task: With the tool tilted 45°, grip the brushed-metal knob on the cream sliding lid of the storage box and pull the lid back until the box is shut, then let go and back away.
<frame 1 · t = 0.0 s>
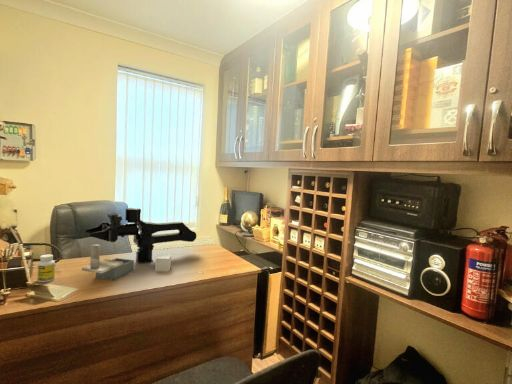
hand: (87, 232, 122), 17 cm above the table, tool horizontal, fingers open, 9 cm apart
lid: (103, 255, 112), point 10 cm above the table, slide at 7.0 cm
storage box: (115, 274, 119), on the table
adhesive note: (163, 269, 129), on the table
supplement bottle: (46, 280, 109), on the table
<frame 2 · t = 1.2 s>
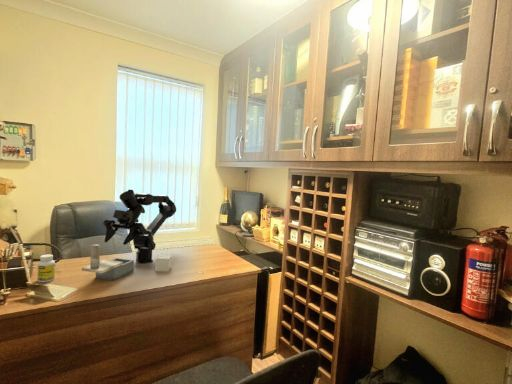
hand: (114, 243, 118), 14 cm above the table, tool tilted 45°, fingers open, 9 cm apart
nothing on the table moved.
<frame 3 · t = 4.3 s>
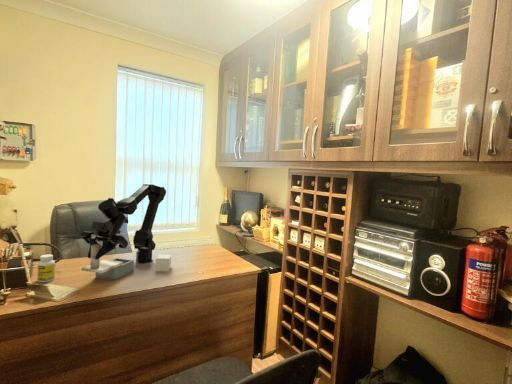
hand: (92, 258, 106), 11 cm above the table, tool tilted 45°, fingers closed on lid, 3 cm apart
lid: (103, 255, 112), point 10 cm above the table, slide at 7.0 cm, touching gripper
everything else where it was.
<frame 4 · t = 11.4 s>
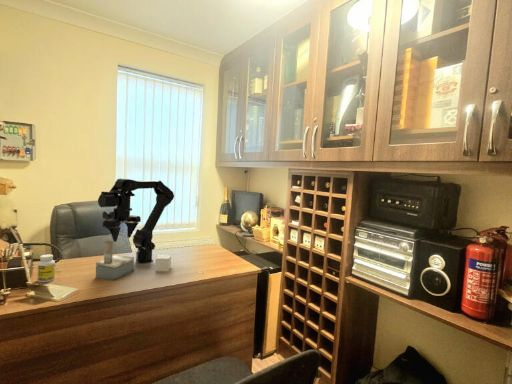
hand: (122, 239, 128), 13 cm above the table, tool pointing down, fingers open, 9 cm apart
lid: (116, 250, 119), point 10 cm above the table, slide at 0.0 cm
everything else where it was.
at the end: lid slide at 0.0 cm; supplement bottle moved 0.2 cm from its start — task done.
